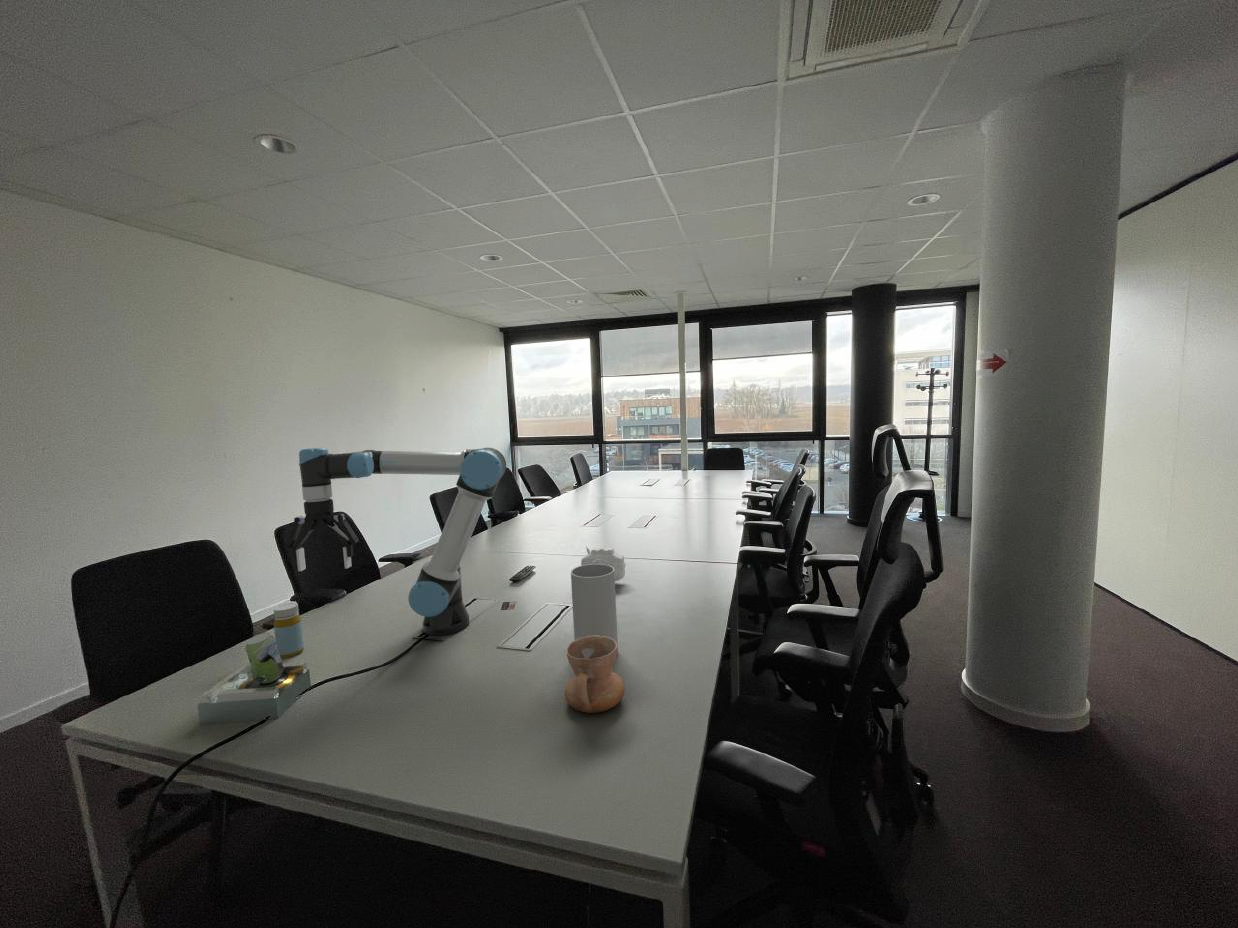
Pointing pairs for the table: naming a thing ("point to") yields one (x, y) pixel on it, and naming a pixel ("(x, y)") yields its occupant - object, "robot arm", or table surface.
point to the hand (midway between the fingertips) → (325, 568)
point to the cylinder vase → (594, 602)
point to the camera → (606, 560)
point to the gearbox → (253, 695)
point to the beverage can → (264, 658)
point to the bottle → (288, 630)
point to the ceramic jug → (593, 675)
